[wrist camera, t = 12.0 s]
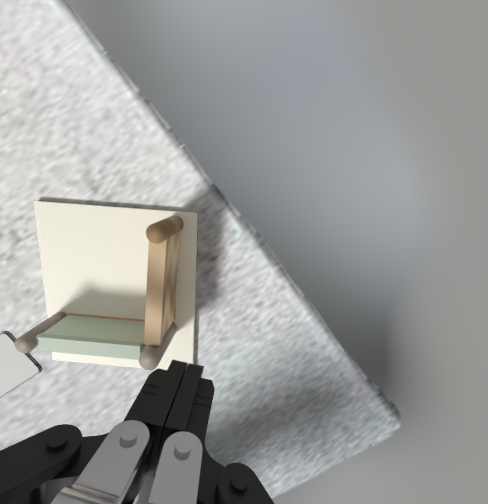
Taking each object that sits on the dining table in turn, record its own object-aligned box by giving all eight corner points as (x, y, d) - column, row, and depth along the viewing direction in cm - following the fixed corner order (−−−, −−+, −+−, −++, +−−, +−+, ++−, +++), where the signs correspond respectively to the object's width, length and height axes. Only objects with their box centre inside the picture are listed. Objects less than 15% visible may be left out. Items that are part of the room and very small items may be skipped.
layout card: (193, 369, 36) (192, 373, 35) (56, 356, 36) (52, 360, 36) (197, 212, 31) (196, 213, 30) (37, 200, 31) (33, 201, 31)
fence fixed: (178, 333, 34) (158, 370, 28) (58, 322, 35) (10, 356, 28) (178, 318, 34) (158, 353, 27) (57, 308, 34) (7, 339, 28)
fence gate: (176, 320, 33) (159, 349, 27) (161, 318, 33) (140, 347, 27) (184, 216, 30) (166, 225, 24) (167, 214, 30) (146, 222, 24)
